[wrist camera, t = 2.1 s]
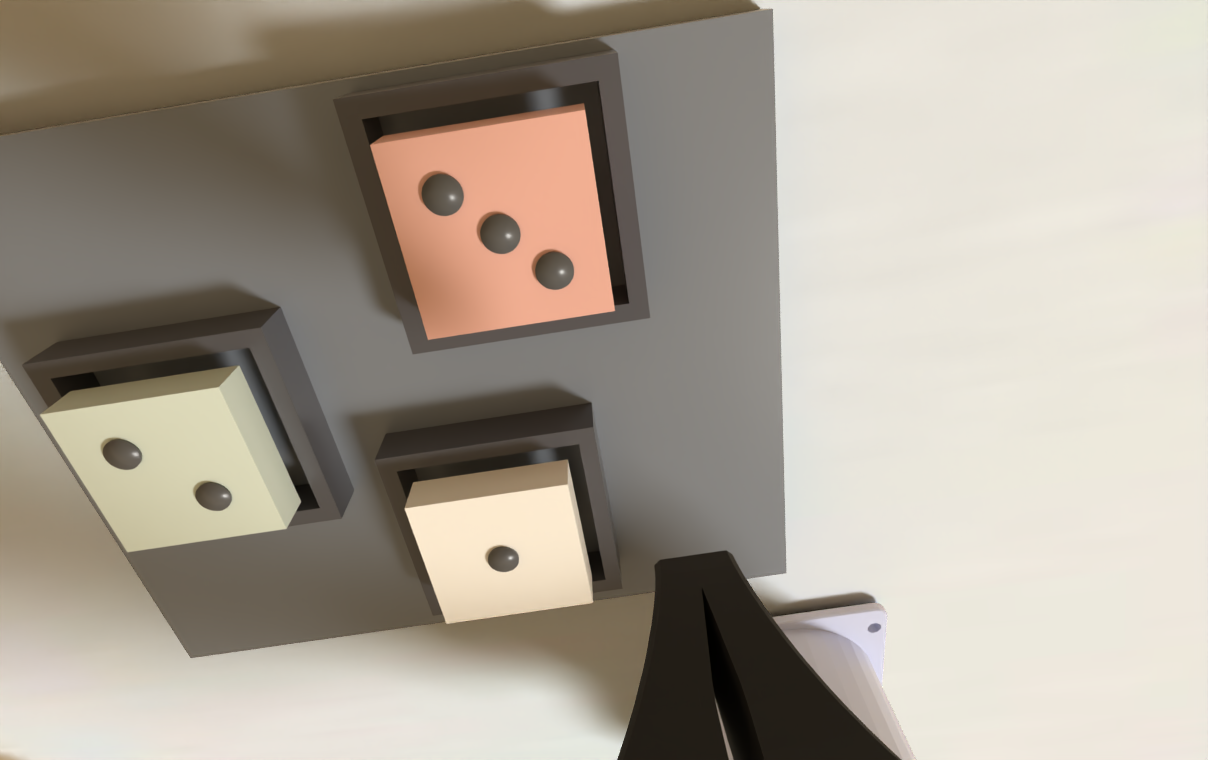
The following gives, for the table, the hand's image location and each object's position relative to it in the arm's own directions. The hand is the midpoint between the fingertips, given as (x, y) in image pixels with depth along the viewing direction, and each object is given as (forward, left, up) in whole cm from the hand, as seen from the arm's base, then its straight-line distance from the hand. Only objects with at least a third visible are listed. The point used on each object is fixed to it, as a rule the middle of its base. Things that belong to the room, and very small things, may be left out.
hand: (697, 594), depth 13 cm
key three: (+6, +3, -7) cm, 10 cm away
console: (0, +7, -10) cm, 12 cm away
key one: (-4, +5, -7) cm, 10 cm away
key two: (+1, +13, -7) cm, 15 cm away
